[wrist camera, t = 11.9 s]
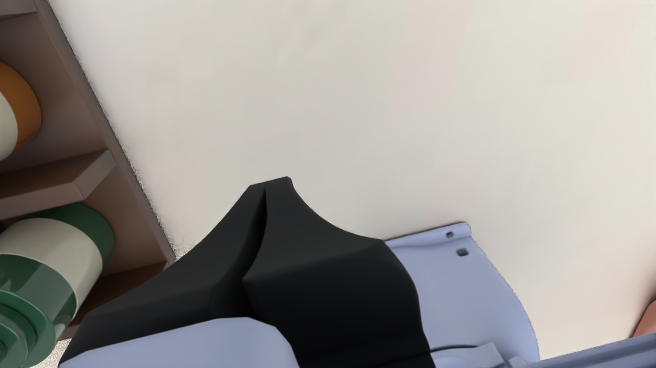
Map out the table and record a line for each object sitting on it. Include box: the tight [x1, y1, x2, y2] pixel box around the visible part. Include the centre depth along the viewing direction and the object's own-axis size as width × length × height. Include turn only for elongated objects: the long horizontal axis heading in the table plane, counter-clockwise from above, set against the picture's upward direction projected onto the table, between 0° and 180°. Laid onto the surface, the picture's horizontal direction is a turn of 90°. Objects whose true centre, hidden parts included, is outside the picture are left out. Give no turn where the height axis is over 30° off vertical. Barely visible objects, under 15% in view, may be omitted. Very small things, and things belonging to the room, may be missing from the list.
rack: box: [0, 0, 176, 341], centre depth 18 cm, size 8×16×8 cm, turn 12°
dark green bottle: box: [0, 202, 115, 368], centre depth 18 cm, size 5×5×10 cm
